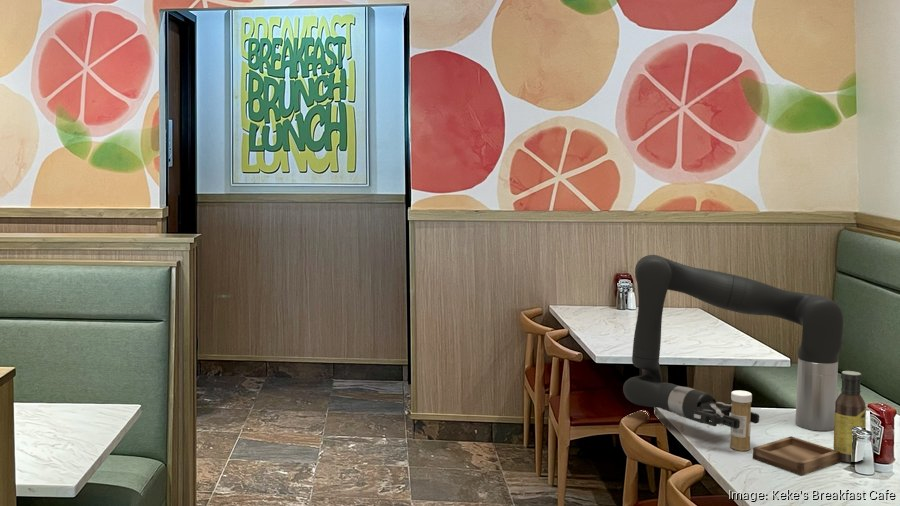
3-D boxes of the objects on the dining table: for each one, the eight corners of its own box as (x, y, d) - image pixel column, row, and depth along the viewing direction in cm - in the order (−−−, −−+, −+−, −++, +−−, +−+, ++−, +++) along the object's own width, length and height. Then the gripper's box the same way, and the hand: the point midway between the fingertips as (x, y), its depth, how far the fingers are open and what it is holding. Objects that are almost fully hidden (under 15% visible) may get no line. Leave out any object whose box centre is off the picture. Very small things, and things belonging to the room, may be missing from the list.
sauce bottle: (867, 465, 170) (870, 377, 168) (835, 463, 172) (839, 375, 170) (860, 455, 176) (864, 370, 174) (830, 453, 178) (833, 368, 176)
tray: (790, 446, 182) (791, 436, 182) (839, 462, 172) (839, 451, 172) (752, 458, 175) (753, 447, 174) (801, 475, 165) (801, 464, 164)
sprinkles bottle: (754, 449, 181) (756, 393, 179) (742, 453, 178) (743, 396, 177) (737, 443, 184) (739, 388, 183) (725, 447, 182) (727, 391, 181)
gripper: (671, 393, 189) (728, 411, 174) (711, 385, 196) (768, 401, 182) (671, 423, 189) (727, 443, 175) (710, 413, 197) (767, 431, 183)
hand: (748, 421), depth 179 cm, fingers open, 6 cm apart
